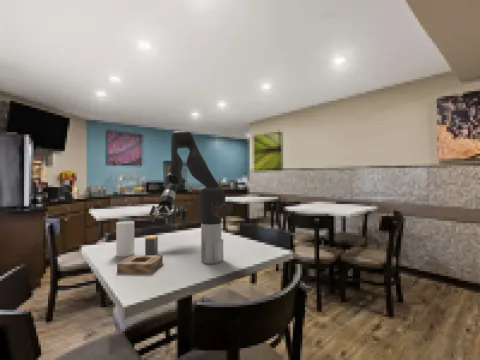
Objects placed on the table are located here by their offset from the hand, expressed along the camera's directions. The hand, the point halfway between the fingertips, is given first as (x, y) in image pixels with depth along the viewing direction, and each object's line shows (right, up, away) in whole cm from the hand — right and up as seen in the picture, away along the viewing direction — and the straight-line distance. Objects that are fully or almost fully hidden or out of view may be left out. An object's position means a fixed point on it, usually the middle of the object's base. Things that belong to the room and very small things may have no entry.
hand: (160, 221), depth 132 cm
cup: (-15, -15, -8) cm, 23 cm away
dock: (+1, -14, -29) cm, 32 cm away
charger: (0, -15, -12) cm, 19 cm away
